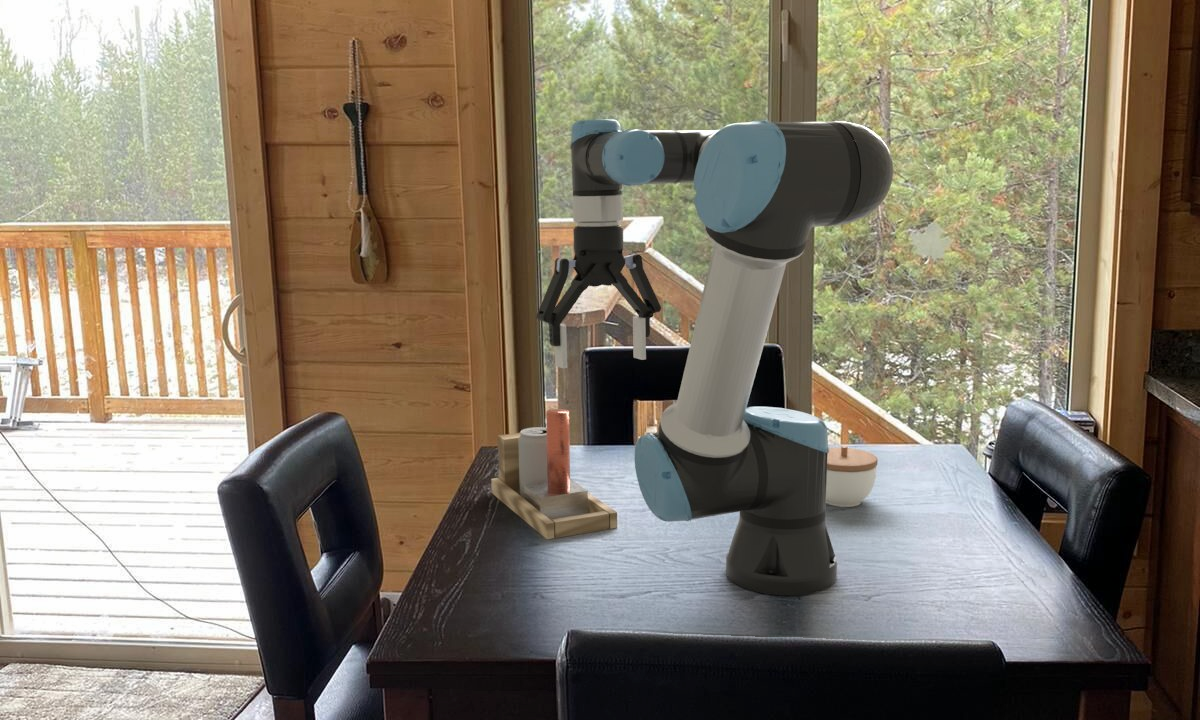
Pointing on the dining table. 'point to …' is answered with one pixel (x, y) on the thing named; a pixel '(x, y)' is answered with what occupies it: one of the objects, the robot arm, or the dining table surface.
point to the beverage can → (532, 457)
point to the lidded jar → (849, 476)
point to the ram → (558, 474)
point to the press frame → (510, 496)
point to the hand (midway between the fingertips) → (601, 362)
